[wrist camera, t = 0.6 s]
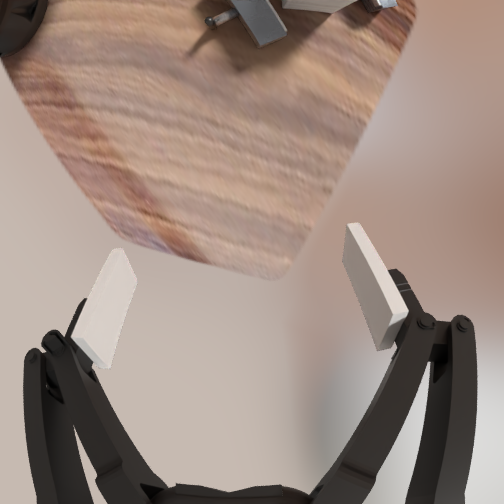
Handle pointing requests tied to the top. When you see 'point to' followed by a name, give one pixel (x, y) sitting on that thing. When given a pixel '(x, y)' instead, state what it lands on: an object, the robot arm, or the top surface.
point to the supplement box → (316, 5)
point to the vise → (270, 18)
